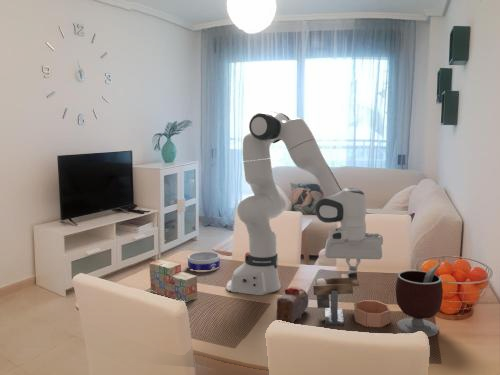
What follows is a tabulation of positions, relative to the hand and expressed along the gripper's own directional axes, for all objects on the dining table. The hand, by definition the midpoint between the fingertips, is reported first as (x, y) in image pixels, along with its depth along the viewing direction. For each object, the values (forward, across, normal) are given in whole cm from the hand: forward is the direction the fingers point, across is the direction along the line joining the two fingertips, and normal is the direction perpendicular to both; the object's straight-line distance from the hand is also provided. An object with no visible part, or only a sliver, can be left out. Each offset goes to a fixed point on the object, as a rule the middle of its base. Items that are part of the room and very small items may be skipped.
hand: (352, 270), depth 154 cm
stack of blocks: (+13, +70, -1) cm, 71 cm away
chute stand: (+13, +7, +12) cm, 19 cm away
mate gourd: (+13, -20, +16) cm, 29 cm away
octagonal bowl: (+13, -5, +12) cm, 19 cm away
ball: (+1, +12, +12) cm, 17 cm away
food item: (+13, +21, +12) cm, 28 cm away
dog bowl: (+13, +67, -37) cm, 78 cm away
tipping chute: (+8, +6, +7) cm, 12 cm away
